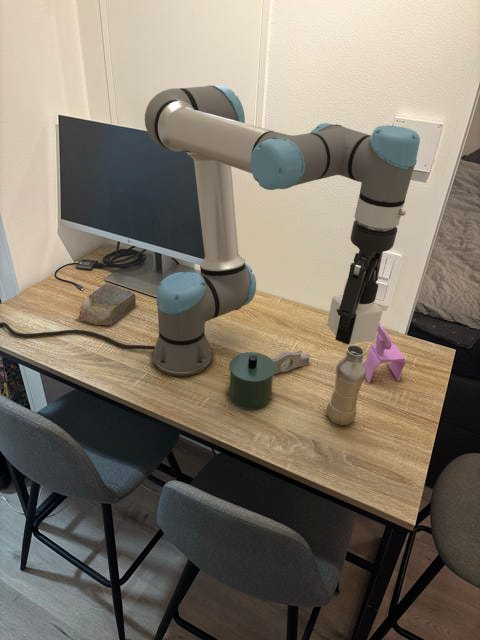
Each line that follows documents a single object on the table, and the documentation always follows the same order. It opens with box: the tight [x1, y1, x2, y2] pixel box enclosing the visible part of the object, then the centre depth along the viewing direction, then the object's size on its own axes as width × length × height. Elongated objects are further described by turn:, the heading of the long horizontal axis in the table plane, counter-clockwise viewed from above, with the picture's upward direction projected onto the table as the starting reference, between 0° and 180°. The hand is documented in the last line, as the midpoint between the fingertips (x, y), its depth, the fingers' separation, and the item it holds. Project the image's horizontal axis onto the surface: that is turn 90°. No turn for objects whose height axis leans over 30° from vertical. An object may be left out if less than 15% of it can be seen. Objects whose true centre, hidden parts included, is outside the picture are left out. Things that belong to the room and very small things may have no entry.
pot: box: [229, 372, 274, 410], centre depth 116 cm, size 10×10×8 cm
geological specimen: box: [78, 282, 137, 327], centre depth 144 cm, size 11×6×15 cm
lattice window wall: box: [269, 348, 312, 375], centre depth 126 cm, size 12×2×6 cm, turn 117°
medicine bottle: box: [326, 278, 383, 346], centre depth 94 cm, size 7×7×12 cm
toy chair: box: [363, 322, 406, 383], centre depth 123 cm, size 8×9×15 cm
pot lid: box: [228, 351, 275, 383], centre depth 113 cm, size 11×11×4 cm
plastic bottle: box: [326, 344, 366, 426], centre depth 108 cm, size 6×7×20 cm
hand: (351, 328), depth 96 cm, fingers closed on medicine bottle, 10 cm apart
